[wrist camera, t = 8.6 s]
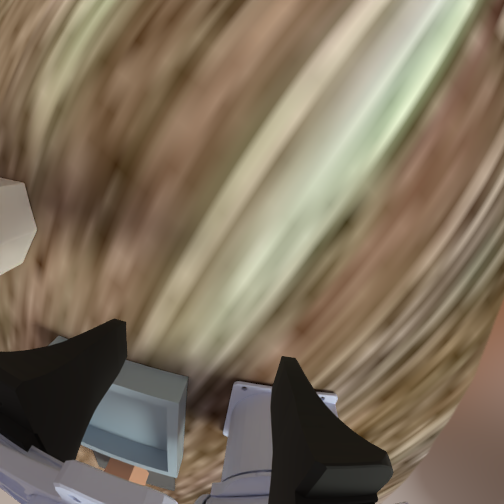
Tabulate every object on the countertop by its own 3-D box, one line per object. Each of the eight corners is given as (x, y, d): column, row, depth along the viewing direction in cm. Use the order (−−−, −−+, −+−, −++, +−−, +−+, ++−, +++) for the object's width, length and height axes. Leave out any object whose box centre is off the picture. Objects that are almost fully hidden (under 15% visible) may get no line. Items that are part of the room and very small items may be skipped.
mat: (174, 457, 29) (173, 460, 28) (174, 488, 32) (174, 491, 31) (87, 428, 29) (86, 430, 28) (100, 463, 32) (99, 466, 31)
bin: (188, 376, 24) (178, 403, 21) (182, 456, 28) (176, 478, 25) (58, 335, 24) (40, 353, 21) (79, 421, 28) (68, 438, 25)
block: (137, 458, 29) (123, 492, 23) (149, 473, 30) (137, 506, 24) (112, 453, 29) (97, 485, 24) (124, 468, 30) (111, 499, 25)
